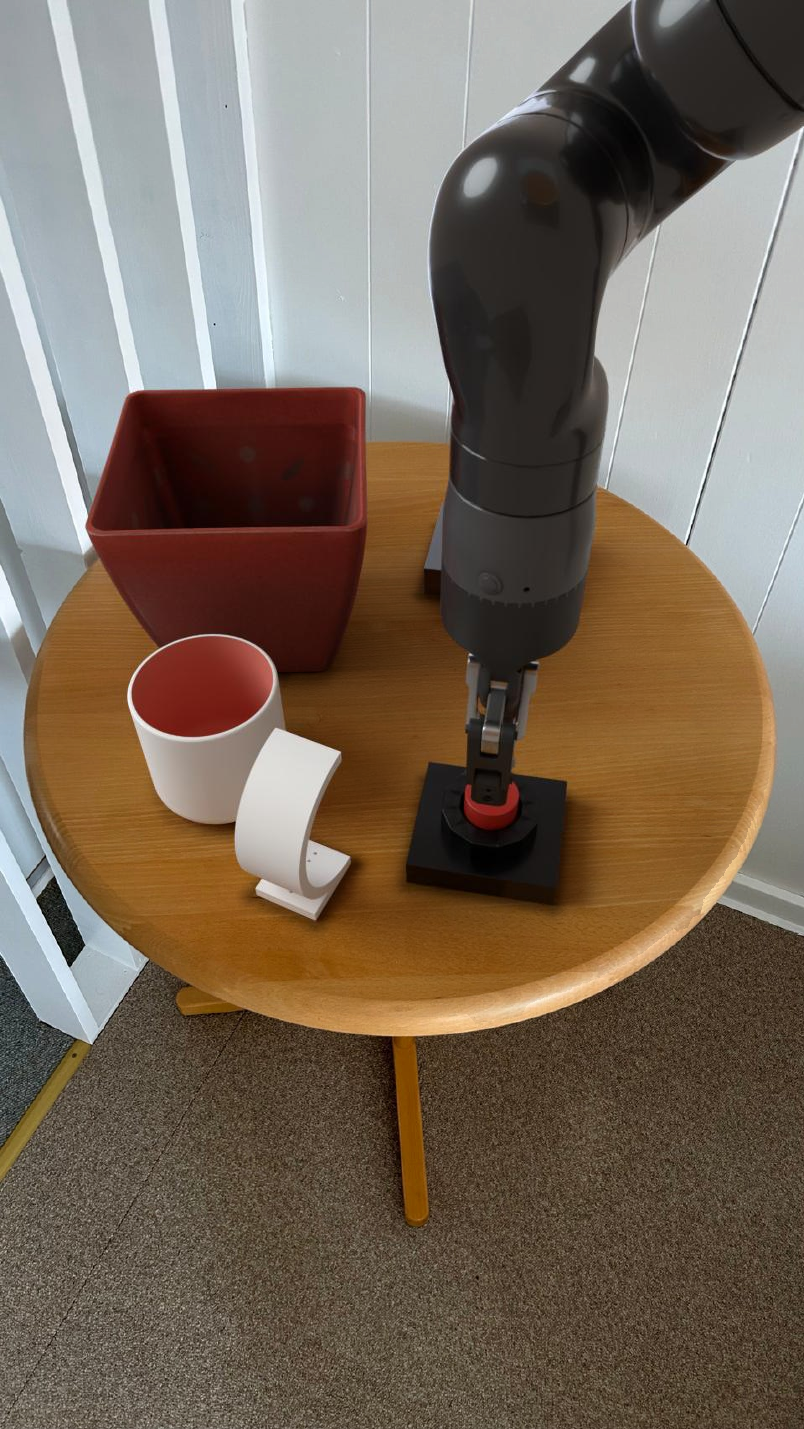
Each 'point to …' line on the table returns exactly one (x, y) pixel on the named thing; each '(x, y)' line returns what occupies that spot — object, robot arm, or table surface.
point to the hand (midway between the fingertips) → (495, 760)
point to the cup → (204, 721)
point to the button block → (488, 840)
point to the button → (492, 810)
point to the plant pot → (238, 516)
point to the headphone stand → (288, 824)
